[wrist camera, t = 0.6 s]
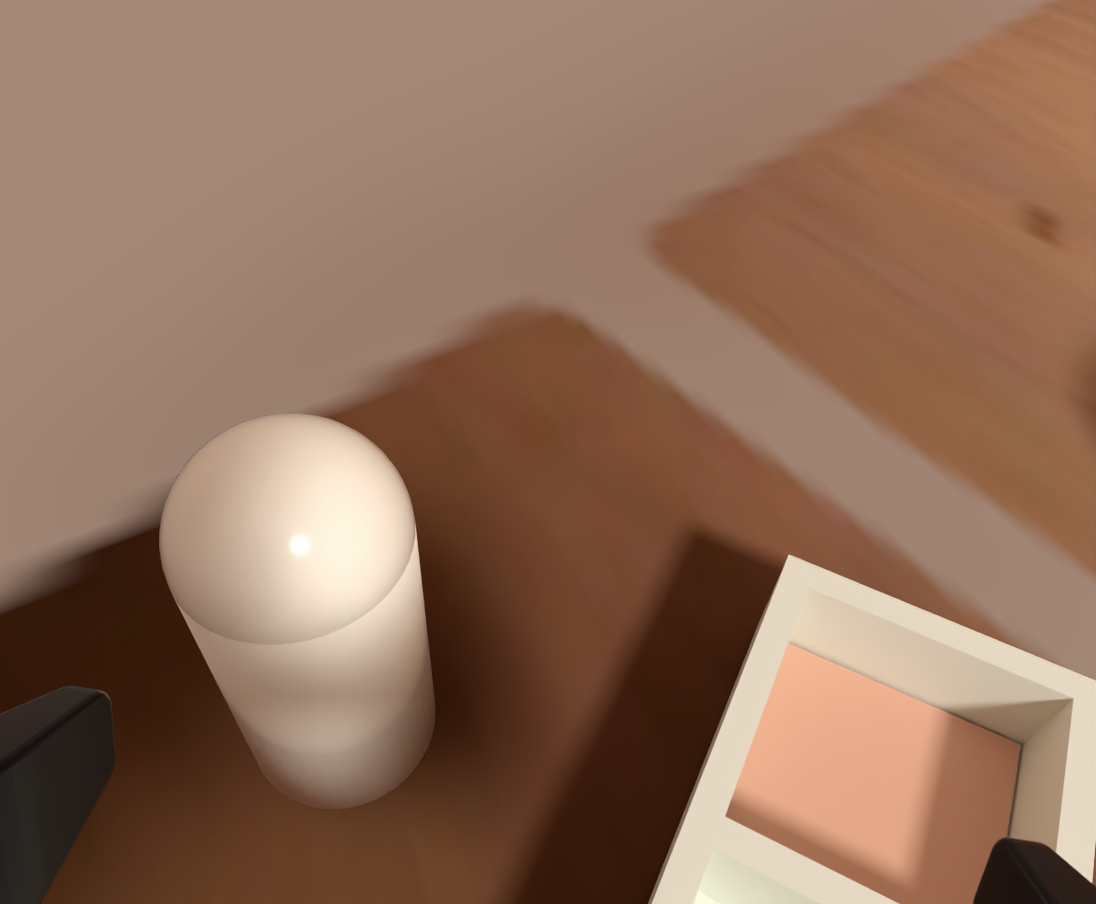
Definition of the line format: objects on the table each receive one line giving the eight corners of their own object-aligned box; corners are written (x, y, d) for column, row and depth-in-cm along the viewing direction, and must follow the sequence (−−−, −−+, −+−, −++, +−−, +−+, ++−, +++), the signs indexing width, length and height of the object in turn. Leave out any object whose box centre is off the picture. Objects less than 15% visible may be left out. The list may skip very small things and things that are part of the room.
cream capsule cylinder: (369, 844, 24) (296, 617, 15) (212, 755, 25) (61, 498, 16) (468, 683, 27) (456, 417, 18) (324, 611, 28) (248, 331, 19)
